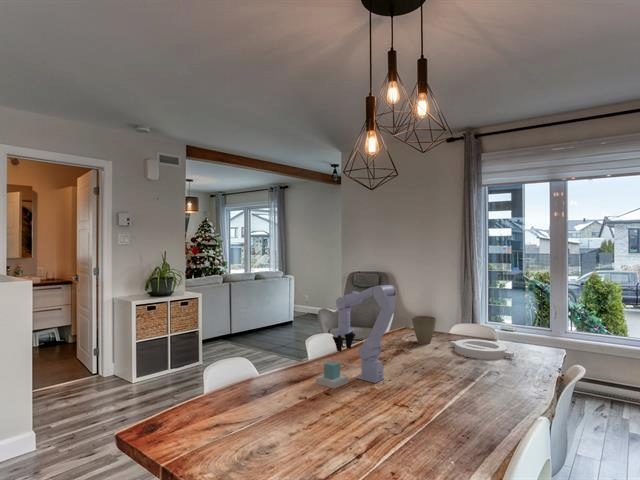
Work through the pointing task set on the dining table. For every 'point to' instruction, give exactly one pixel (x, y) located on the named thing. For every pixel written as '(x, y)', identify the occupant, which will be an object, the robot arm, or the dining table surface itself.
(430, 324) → the plant pot
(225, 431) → the dining table surface
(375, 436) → the dining table surface
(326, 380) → the plinth
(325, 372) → the teal block
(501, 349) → the white circle with bar
